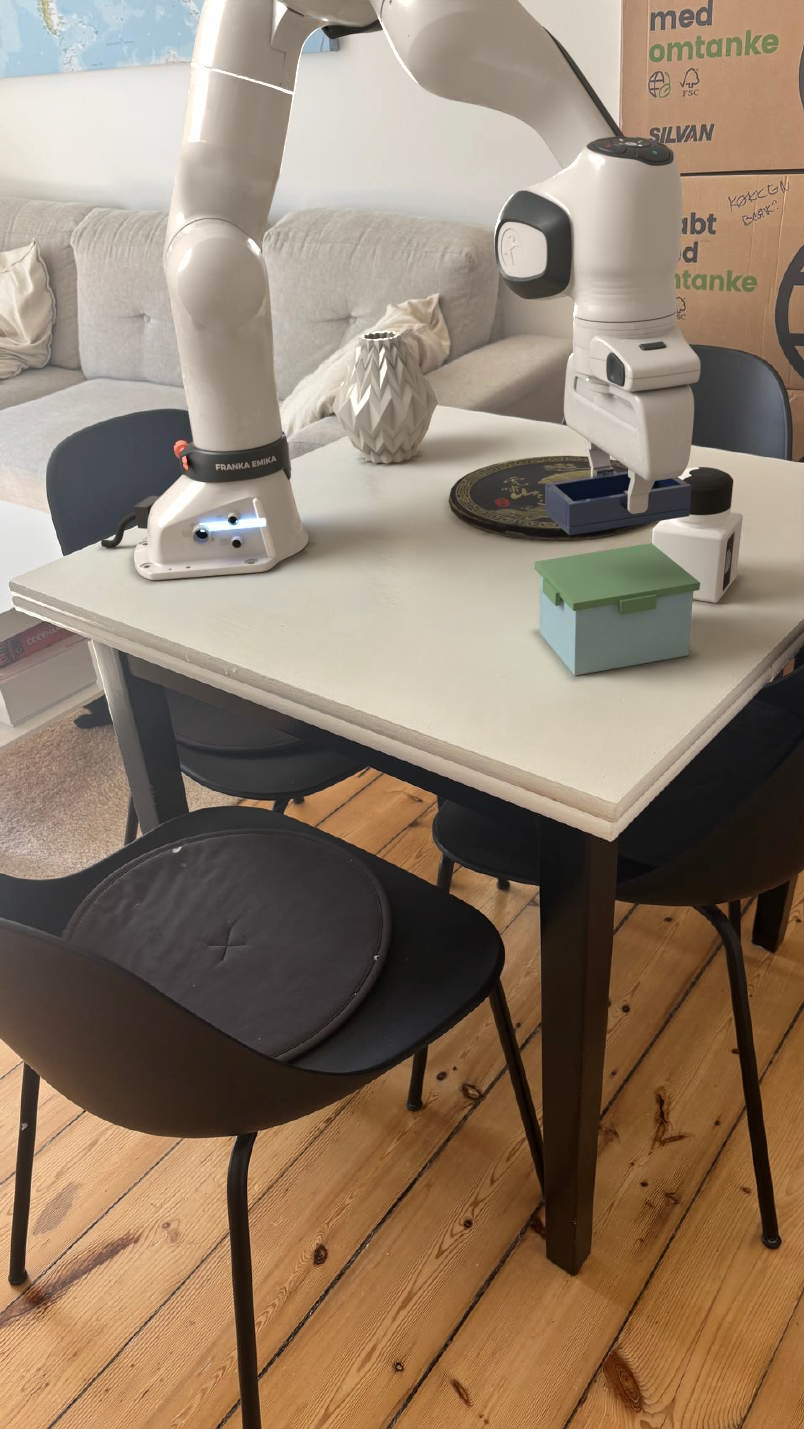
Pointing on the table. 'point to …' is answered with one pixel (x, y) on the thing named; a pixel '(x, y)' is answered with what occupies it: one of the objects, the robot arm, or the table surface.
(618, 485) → the low blue storage tray
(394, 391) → the vase
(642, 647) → the box
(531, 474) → the decorative plate
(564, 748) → the table surface
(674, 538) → the container
